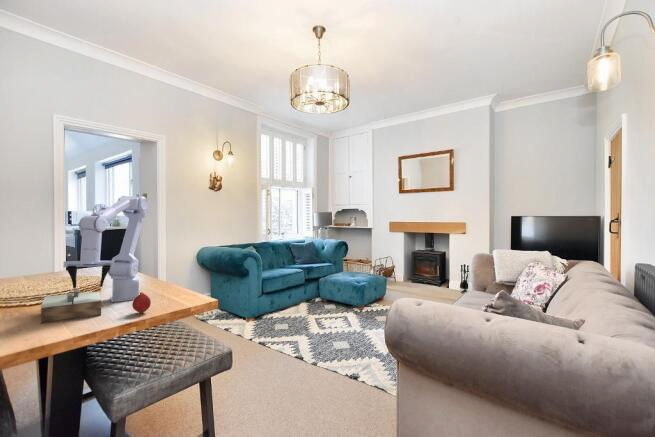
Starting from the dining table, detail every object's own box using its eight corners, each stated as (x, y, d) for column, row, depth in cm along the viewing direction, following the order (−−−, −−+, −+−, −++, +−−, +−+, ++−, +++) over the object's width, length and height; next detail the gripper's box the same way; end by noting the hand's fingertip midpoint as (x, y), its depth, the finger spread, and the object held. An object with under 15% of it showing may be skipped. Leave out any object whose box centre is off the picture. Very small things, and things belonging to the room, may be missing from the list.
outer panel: (72, 295, 118) (73, 288, 118) (71, 304, 108) (71, 296, 108) (45, 298, 114) (45, 291, 113) (41, 307, 103) (41, 299, 103)
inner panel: (99, 292, 123) (100, 286, 123) (101, 300, 113) (101, 293, 113) (74, 295, 119) (74, 288, 118) (73, 304, 108) (73, 296, 108)
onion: (137, 310, 119) (137, 289, 119) (153, 311, 120) (153, 290, 120) (129, 316, 114) (129, 293, 113) (145, 316, 114) (146, 294, 114)
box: (99, 305, 123) (99, 293, 123) (100, 315, 113) (101, 301, 113) (44, 312, 114) (45, 298, 114) (40, 323, 103) (41, 308, 103)
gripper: (63, 249, 107) (60, 290, 106) (115, 249, 115) (112, 287, 114) (66, 248, 113) (63, 286, 112) (115, 248, 121) (112, 284, 120)
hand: (88, 287), depth 114 cm, fingers open, 7 cm apart
